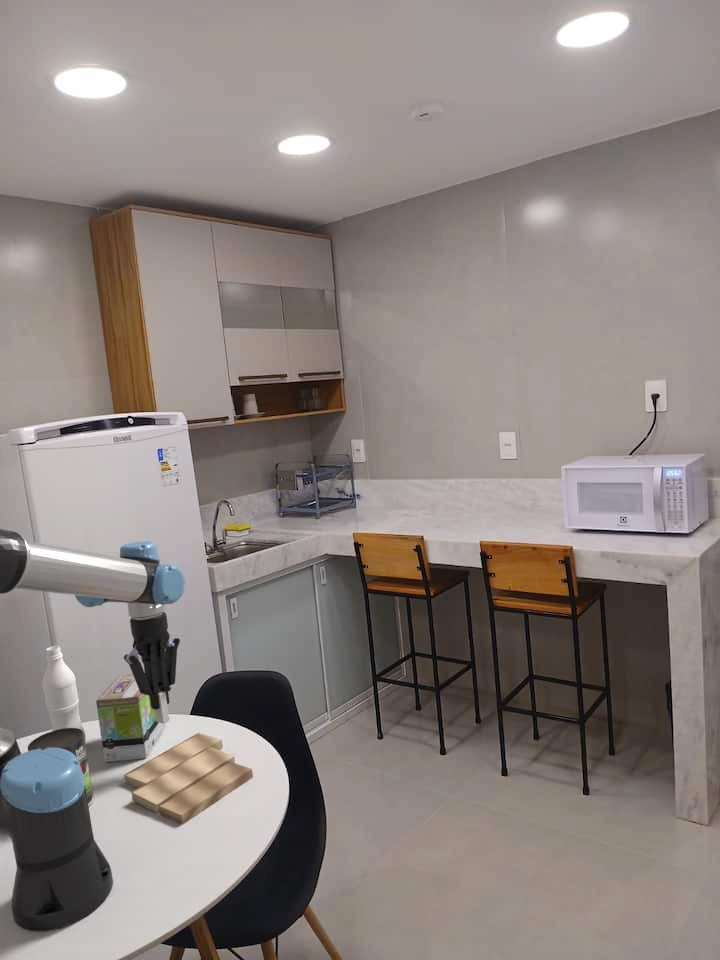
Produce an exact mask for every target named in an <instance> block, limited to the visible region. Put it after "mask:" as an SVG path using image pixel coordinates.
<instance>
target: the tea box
mask: <svg viewBox="0 0 720 960" xmlns="http://www.w3.org/2000/svg"><path fill="white" fill-rule="evenodd" d="M95 701H96V709H97V715H98V716H97V718H98V722H99V723H98V724H99V731H100V738H101V743H102V752H103V758H104V763H105V762H106V763H107V762H108V763H109V762H121V761H122V762H123V761H131V760H134V761H135V760H141V759H146V758H147V757H148V755H150V753H151V751H152V749H153V748H154V747H155V745H156V743H157V741H158V740H159V739H160V737H161V736H162V734H163V732H165V729H166V728H167V726H166V723H164V724H163V723H159V722H156V718H155V711H154V709H152V708H151V703H150V696H149V695H145V694H141V693H140V691H139V688H138V686H137V683H136V681H135V678H134V675H133V673H128V674H121V675H118V676H117V677H115V679H114V680H113V681H112V682H111V683H110V685H109V686H108V687H107V688H106V689H105V690H104V692H102V693H101V695H100V696H98V698H97V699H96V700H95Z"/></svg>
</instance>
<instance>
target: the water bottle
mask: <svg viewBox="0 0 720 960" xmlns="http://www.w3.org/2000/svg"><path fill="white" fill-rule="evenodd" d="M45 652H46V659H45V660H46V661H47V667H46V670H45V672H44V675H43V679H42V683H41V684H42V686H41V687H42V689H43V694H44V699H45V707H46V710H47V713H48V715H49V718H50V722H51V728H52V729H51V730H52V731H55V730H59V729H64V728H78V729H81V730H82V731H83V735H84V737H83V738H84V744H86V741H87V740H86V739H87V738H86V731H85V729H84V727H83V724H82V721H81V718H80V717H81V716H80V711H79V702H80V699H79V694H78V693H79V692H78V689H77V684H76V679H77V678H76V676H75V674H74V672H73V671H72V670H71V668H69V666H68V665H67V664H66V663H65V662H64V659H63V657H64V655H63V653H62V652H61V646H60V645H52V646H49V647H47V648H46V649H45Z"/></svg>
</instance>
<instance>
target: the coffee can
mask: <svg viewBox="0 0 720 960" xmlns="http://www.w3.org/2000/svg"><path fill="white" fill-rule="evenodd" d="M83 737H84V735H83V731H82V730H81V729H78V728H64V729H59V730H55V731H51V730H50V731H49V732H46V733H44V734H42V735H40V736H37V737H36V738H34V739H32V741H31V742H29V744H28V745H27V752H28V751H31V750H35V749H41V750H44V749H46V748H61V749H65V750H67V751H70V752H71V753H73V754H74V755H75V756H76V757H77V759H78V760H79V763H80V766H81V769H82V772H83V775H84V778H85V788H86V794H87V801H88V807H90V806H91V805H92V804H93V802H94V800H95V796H94V791H93V787H92V779H91V775H90V767H89V763H88V758H87V756H88V755H87V752H86V745H85V744H86V743H85V744H84V738H83Z"/></svg>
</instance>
